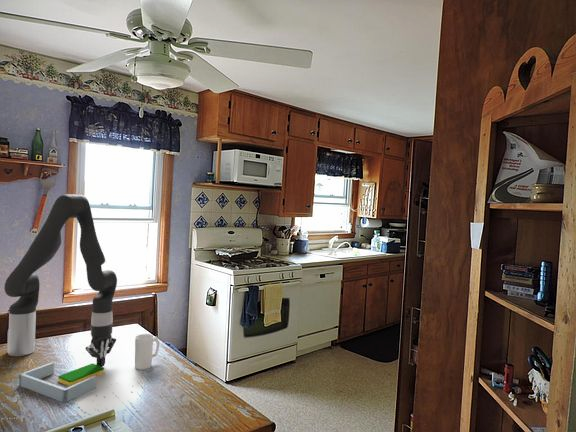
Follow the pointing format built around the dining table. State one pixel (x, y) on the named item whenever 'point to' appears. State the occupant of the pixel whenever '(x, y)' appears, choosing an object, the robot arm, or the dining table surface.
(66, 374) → the dish sponge
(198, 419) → the dining table surface
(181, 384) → the dining table surface
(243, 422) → the dining table surface
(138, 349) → the mug
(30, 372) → the frame
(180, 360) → the dining table surface
